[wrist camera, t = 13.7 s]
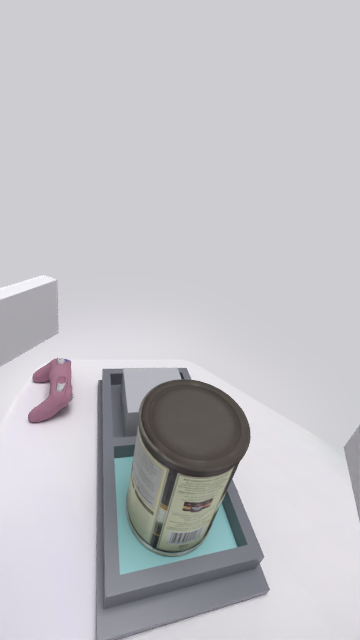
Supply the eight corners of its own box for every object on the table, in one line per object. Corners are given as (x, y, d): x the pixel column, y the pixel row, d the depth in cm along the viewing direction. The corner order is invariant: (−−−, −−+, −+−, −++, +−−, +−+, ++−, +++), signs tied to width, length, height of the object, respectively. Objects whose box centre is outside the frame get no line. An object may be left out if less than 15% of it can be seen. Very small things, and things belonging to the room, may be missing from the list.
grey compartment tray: (185, 382, 52) (192, 356, 49) (266, 594, 27) (288, 566, 24) (98, 384, 47) (100, 356, 45) (96, 645, 22) (100, 618, 19)
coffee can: (177, 447, 38) (199, 367, 31) (231, 516, 31) (273, 433, 25) (108, 488, 32) (117, 398, 25) (158, 585, 25) (188, 498, 19)
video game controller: (57, 429, 40) (81, 395, 39) (24, 424, 38) (48, 387, 36) (57, 383, 48) (77, 353, 46) (30, 376, 45) (50, 344, 44)
